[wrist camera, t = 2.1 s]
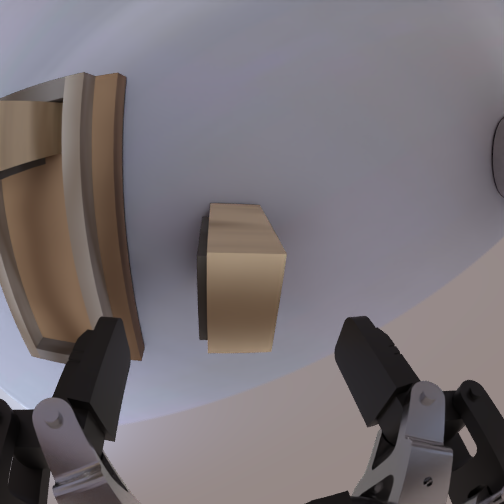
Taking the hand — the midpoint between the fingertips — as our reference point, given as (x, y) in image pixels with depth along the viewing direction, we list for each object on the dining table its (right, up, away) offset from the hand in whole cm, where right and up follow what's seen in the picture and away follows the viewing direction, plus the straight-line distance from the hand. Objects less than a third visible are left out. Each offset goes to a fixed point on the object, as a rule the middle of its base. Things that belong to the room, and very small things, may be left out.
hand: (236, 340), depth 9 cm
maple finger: (-1, +4, +8) cm, 9 cm away
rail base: (-14, +4, +6) cm, 16 cm away
